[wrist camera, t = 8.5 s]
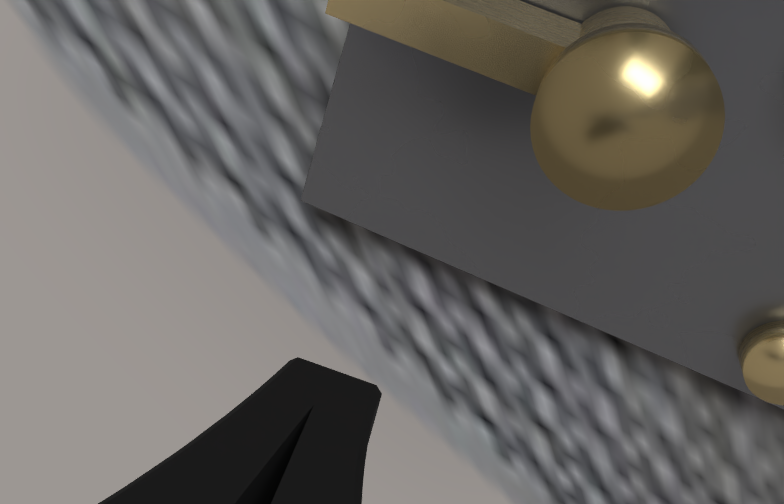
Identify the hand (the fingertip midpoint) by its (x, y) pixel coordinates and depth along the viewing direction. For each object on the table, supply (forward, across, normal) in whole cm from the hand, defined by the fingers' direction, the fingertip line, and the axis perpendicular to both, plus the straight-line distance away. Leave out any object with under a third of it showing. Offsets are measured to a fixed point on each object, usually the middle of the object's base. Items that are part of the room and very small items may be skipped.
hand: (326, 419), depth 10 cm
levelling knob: (+8, -1, -4) cm, 10 cm away
